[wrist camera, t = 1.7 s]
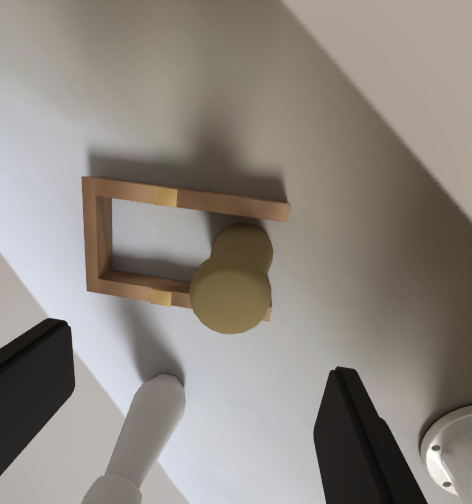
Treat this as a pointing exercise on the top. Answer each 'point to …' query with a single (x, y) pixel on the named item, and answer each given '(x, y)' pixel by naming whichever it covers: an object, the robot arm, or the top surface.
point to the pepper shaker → (234, 280)
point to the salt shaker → (140, 441)
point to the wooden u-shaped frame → (104, 189)
